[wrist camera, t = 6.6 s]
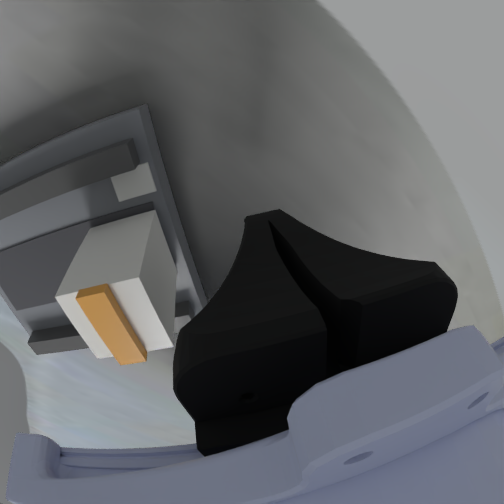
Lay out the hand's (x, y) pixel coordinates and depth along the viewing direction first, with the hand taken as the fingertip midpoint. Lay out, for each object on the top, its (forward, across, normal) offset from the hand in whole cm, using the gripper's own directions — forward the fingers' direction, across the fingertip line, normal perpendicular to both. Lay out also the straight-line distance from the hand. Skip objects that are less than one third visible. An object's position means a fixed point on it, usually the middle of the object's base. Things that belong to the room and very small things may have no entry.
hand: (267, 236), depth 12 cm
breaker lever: (+2, +6, 0) cm, 6 cm away
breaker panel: (+4, +9, 0) cm, 10 cm away
